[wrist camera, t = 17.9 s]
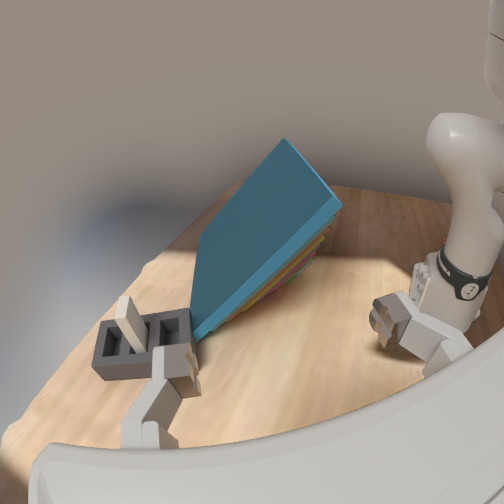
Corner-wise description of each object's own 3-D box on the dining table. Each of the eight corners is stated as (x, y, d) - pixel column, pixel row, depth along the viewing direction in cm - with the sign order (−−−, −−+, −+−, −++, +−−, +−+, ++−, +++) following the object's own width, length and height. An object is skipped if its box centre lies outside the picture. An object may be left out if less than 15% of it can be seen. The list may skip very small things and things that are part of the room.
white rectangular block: (143, 340, 49) (119, 296, 42) (153, 339, 49) (129, 295, 42) (142, 361, 45) (114, 319, 38) (152, 360, 45) (125, 317, 38)
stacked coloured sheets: (259, 366, 56) (396, 260, 41) (186, 338, 48) (332, 195, 34) (248, 265, 84) (331, 180, 70) (199, 235, 77) (284, 137, 63)
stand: (111, 336, 51) (100, 321, 48) (195, 324, 53) (189, 307, 50) (104, 380, 42) (91, 366, 39) (199, 371, 44) (191, 356, 41)
